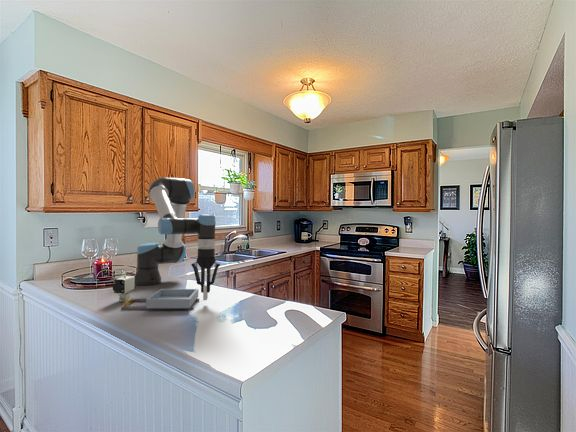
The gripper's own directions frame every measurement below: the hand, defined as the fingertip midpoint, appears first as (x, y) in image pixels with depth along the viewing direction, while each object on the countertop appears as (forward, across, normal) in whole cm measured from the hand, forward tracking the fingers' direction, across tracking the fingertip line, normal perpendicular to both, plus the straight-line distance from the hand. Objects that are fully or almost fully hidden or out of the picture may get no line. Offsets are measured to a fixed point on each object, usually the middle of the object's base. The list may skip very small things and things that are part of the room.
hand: (205, 299), depth 142 cm
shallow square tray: (+1, -14, 0) cm, 14 cm away
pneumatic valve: (+3, -39, +7) cm, 40 cm away
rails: (+3, -19, 0) cm, 19 cm away
